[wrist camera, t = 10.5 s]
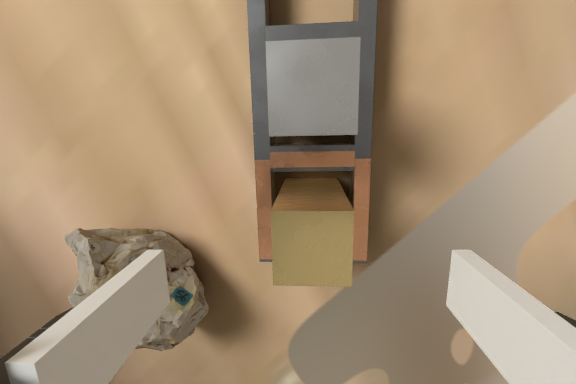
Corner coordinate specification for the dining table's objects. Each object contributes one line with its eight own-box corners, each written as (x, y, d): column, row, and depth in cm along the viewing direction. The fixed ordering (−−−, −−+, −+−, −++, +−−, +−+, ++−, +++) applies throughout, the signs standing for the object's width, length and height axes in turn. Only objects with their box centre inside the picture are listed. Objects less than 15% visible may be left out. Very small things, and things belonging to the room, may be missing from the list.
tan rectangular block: (286, 226, 26) (273, 285, 17) (285, 178, 25) (270, 211, 16) (336, 226, 26) (351, 286, 16) (337, 178, 25) (353, 210, 15)
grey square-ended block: (285, 132, 25) (269, 136, 15) (283, 76, 24) (265, 41, 14) (338, 131, 24) (357, 134, 14) (339, 73, 23) (360, 36, 13)
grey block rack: (264, 249, 27) (259, 262, 24) (249, -78, 21) (241, -106, 19) (361, 250, 26) (367, 264, 24) (373, -87, 21) (382, -119, 18)
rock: (238, 308, 27) (155, 371, 18) (189, 331, 29) (93, 399, 20) (185, 196, 29) (86, 201, 20) (144, 226, 31) (36, 242, 22)
